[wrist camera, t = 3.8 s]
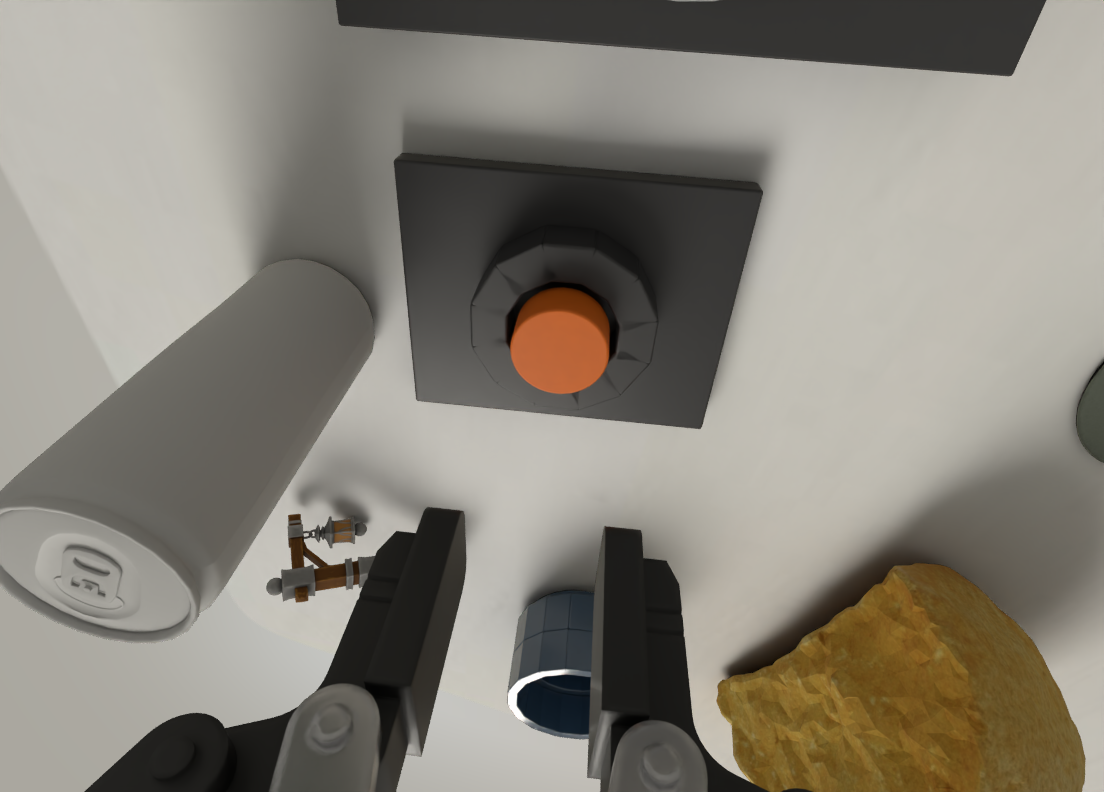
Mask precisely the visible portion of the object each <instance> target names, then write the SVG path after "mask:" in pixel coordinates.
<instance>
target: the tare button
mask: <svg viewBox="0 0 1104 792" xmlns="http://www.w3.org/2000/svg"><path fill="white" fill-rule="evenodd" d="M609 338H610V327H609V321H608V318H607V315H606V313H605V311H604V310H603V308H602V307H601V305H600V304H599V303H598V302H597V301H596V300H595V299H594V298H592V297H591V296H589V295H588V294H586V293H584V292H582V291H579V290H576V289H573V288H566V287H557V288H551V289H547V290H544V291H541V292H539V293H537V294H535V295H534V296H532V297H531V298H530V299H529V300H528V301H527V302H526V303H525V304H524V305H523V307H522V308H521V310H520V312H519V315H518V318H517V322H516V325H515V329H514V332H513V336H512V340H511V345H510V354H511V359H512V362H513V364H514V366H515V368H516V370H517V371H518V373H519V374H520V375H521V377H522V378H523V379H524V380H526V381H527V382H528V383H529V384H531V385H532V386H534V387H536V388H538V389H540V390H543V391H546V392H550V393H556V394H567V393H574V392H577V391H581V390H583V389H585V388H587V387H589V386H591V385H592V384H593V383H594V382H596V381H597V380H598V379H599V378H600V376H601V375H602V374H603V372H604V371H605V369H606V366H607V364H608V359H609Z"/></svg>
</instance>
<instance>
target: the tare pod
mask: <svg viewBox="0 0 1104 792" xmlns="http://www.w3.org/2000/svg"><path fill="white" fill-rule="evenodd" d="M394 168H395V179H396V189H397V200H398V211H399V221H400V232H401V243H402V253H403V264H404V274H405V285H406V296H407V306H408V317H409V328H410V338H411V349H412V359H413V370H414V381H415V391H416V400H417V401H424V402H434V403H444V404H454V405H464V406H475V407H485V408H495V409H505V410H515V411H525V412H535V413H545V414H555V415H565V416H575V417H585V418H595V419H605V420H615V421H625V422H635V423H645V424H655V425H665V426H675V427H685V428H695V429H701V427H702V424H703V420H704V416H705V413H706V409H707V405H708V401H709V397H710V394H711V390H712V386H713V382H714V378H715V374H716V371H717V367H718V363H719V359H720V355H721V352H722V348H723V344H724V340H725V336H726V332H727V329H728V325H729V321H730V317H731V313H732V310H733V306H734V302H735V298H736V294H737V290H738V287H739V283H740V279H741V275H742V271H743V268H744V264H745V260H746V256H747V252H748V248H749V245H750V241H751V237H752V233H753V229H754V226H755V222H756V218H757V214H758V210H759V206H760V203H761V199H762V195H763V191H762V189H761V188H760V186H759V184H758V183H755V182H743V181H731V180H719V179H708V178H696V177H684V176H672V175H660V174H648V173H636V172H624V171H612V170H600V169H588V168H576V167H564V166H552V165H540V164H528V163H517V162H505V161H493V160H481V159H469V158H457V157H445V156H433V155H421V154H409V153H402V154H401V155H400V156H398V157H397V158H396V159H395V160H394ZM557 287H566V288H573V289H576V290H579V291H582V292H584V293H586V294H588V295H589V296H591V297H592V298H594V299H595V300H596V301H597V302H598V303H599V304H600V305H601V307H602V308H603V310H604V311H605V313H606V315H607V318H608V321H609V327H610V338H609V359H608V364H607V366H606V369H605V371H604V372H603V374H602V375H601V376H600V378H599V379H598V380H597V381H596V382H594V383H593V384H592V385H591V386H589V387H587V388H585V389H583V390H581V391H577V392H574V393H567V394H556V393H550V392H546V391H543V390H540V389H538V388H536V387H534V386H532V385H531V384H529V383H528V382H527V381H526V380H524V379H523V378H522V377H521V375H520V374H519V373H518V371H517V370H516V368H515V366H514V364H513V362H512V359H511V354H510V345H511V340H512V336H513V332H514V329H515V325H516V322H517V318H518V315H519V312H520V310H521V308H522V307H523V305H524V304H525V303H526V302H527V301H528V300H529V299H530V298H531V297H532V296H534V295H535V294H537V293H539V292H541V291H544V290H547V289H551V288H557Z"/></svg>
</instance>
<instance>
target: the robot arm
mask: <svg viewBox="0 0 1104 792" xmlns="http://www.w3.org/2000/svg"><path fill="white" fill-rule="evenodd" d="M465 572H466V537H465V515H464V511H460V510H451V509H441V508H432V507H427V508H426V509H425V511H424V513H423V515H422V518H421V521H420V524H419V526H418V529H417V532H416V533H409V532H400V531H396V532H395V533H394V534H393V535H392V536H391V537H390V538H389V539H388V540H387V541H386V543H385V544H384V545H383V546H382V547H381V548H380V549H379V550H378V551H377V553H376V556H375V558H374V561H373V563H372V566H371V568H370V570H369V573H368V578H367V580H365V583H364V585H363V588H362V590H361V592H360V597H359V600H357V602H356V605H355V607H354V610H353V612H352V614H351V617H350V619H349V622H348V624H347V627H346V629H345V632H344V634H343V636H342V639H341V641H340V644H339V646H338V649H337V651H336V654H335V656H334V659H333V661H332V663H331V666H330V668H329V671H328V673H327V675H326V677H325V679H324V681H323V682H322V684H321V685H320V687H319V688H318V689H317V691H315V693H313V694H312V695H310V696H309V697H308V698H306V699H305V700H304V701H303V702H302V703H301V704H300V705H299V706H298V707H297V708H295V709H293V710H291V711H290V712H287V713H285V714H283V715H280V716H277V717H274V718H270V719H265V720H261V721H257V722H252V723H247V724H243V725H238V726H233V727H229V728H224V726H223V724H222V723H221V722H220V721H219V720H218V719H216V718H214V717H213V716H210V715H207V714H202V713H190V714H185V715H181V716H178V717H175V718H172V719H170V720H168V721H166V722H164V723H162V724H161V725H159V726H158V727H156V728H155V729H153V730H152V731H151V732H150V733H148V734H147V735H146V736H145V737H144V738H143V739H141V740H140V741H139V742H138V743H137V744H136V745H135V746H134V747H133V748H132V749H131V750H129V751H128V752H127V753H126V754H125V755H124V756H123V757H122V758H121V759H120V760H118V761H117V762H116V763H115V764H114V765H113V766H112V767H111V768H110V769H109V770H108V771H106V772H105V773H104V774H103V775H102V776H101V777H100V778H99V779H98V780H97V781H95V782H94V783H93V785H91V786H90V787H89V788H88V789H87V790H86V791H85V792H396V789H397V785H398V781H399V778H400V774H401V770H402V767H403V763H404V759H405V755H411V756H419V757H421V756H422V752H423V748H424V744H425V740H426V736H427V732H428V728H429V724H430V720H431V715H432V712H433V708H434V703H435V700H436V695H437V691H438V687H439V683H440V679H441V675H442V671H443V667H444V663H445V659H446V655H447V651H448V647H449V643H450V639H451V635H452V631H453V627H454V623H455V619H456V615H457V611H458V607H459V602H460V598H461V594H462V590H463V585H464V580H465ZM681 612H682V608H681V598H680V587H679V583H678V581H677V579H676V578H675V576H674V574H673V572H672V570H671V569H670V567H669V565H668V563H667V561H664V560H655V559H645V558H643V546H642V532H641V530H635V529H626V528H616V527H607V526H604V530H603V536H602V542H601V548H600V554H599V561H598V567H597V573H596V582H595V592H594V610H593V637H592V664H591V691H590V718H589V745H588V772H587V778H594V779H601V791H600V792H769V791H767V790H765V789H763V788H761V787H759V786H757V785H755V784H753V783H751V782H749V781H747V780H745V779H743V778H741V777H739V776H737V775H735V774H733V773H731V772H729V771H728V770H726V769H725V768H724V767H722V766H721V765H720V764H719V763H718V762H717V761H715V760H714V759H713V758H712V756H711V755H710V754H709V753H708V752H707V750H706V749H705V747H704V746H703V744H702V743H701V741H700V739H699V737H698V735H697V733H696V730H695V726H694V723H693V717H692V708H691V698H690V688H689V678H688V668H687V658H686V648H685V638H684V628H683V618H682V615H681ZM781 792H813V791H809V790H806V789H800V788H793V789H787V790H783V791H781Z"/></svg>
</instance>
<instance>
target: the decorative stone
mask: <svg viewBox="0 0 1104 792" xmlns="http://www.w3.org/2000/svg"><path fill="white" fill-rule="evenodd" d="M717 704H718V706H719V709H720V711H721V714H722V715H723V716H724V717H725V718H726V720H727V721H728V722H729V723H730V724H731V725H732V737H733V756H734V758H735V760H736V762H737V764H738V766H739V768H740V770H741V771H742V772H743V773H744V775H745V776H746V777H747V778H748V779H749V780H750V782H751V783H753V784H755V785H757V786H759V787H761V788H763V789H765V790H767V791H769V792H781V791H783V790H787V789H793V788H800V789H806V790H809V791H813V792H1082V787H1083V785H1084V781H1085V755H1084V751H1083V746H1082V741H1081V738H1080V735H1079V733H1078V730H1077V727H1076V726H1075V724H1074V722H1073V721H1072V719H1071V717H1070V714H1069V712H1068V709H1067V706H1066V703H1065V701H1064V698H1063V696H1062V693H1061V691H1060V689H1059V687H1058V686H1057V684H1056V682H1055V681H1054V679H1053V677H1052V675H1051V673H1050V671H1049V669H1048V667H1047V665H1046V663H1045V661H1044V659H1043V657H1042V655H1041V654H1040V652H1039V650H1038V649H1037V647H1036V646H1035V644H1034V642H1033V641H1032V639H1031V638H1030V637H1029V636H1028V635H1027V634H1026V633H1025V632H1024V631H1023V630H1022V629H1021V627H1020V626H1019V625H1018V624H1017V623H1016V622H1015V621H1014V620H1012V619H1011V618H1010V617H1009V616H1008V615H1006V614H1005V613H1004V612H1003V611H1001V610H1000V609H999V608H998V607H997V606H996V605H995V604H994V603H993V602H992V601H991V600H990V599H989V597H988V596H987V595H985V594H984V593H983V592H982V591H981V590H980V589H979V588H978V587H977V586H975V585H974V584H973V583H971V582H970V581H968V580H967V579H966V578H964V577H963V576H961V575H960V574H958V573H957V572H955V571H954V570H952V569H951V568H949V567H946V566H943V565H937V564H925V563H914V564H912V565H901V566H894V567H893V568H892V569H891V570H890V571H889V572H888V574H887V576H886V578H885V579H884V581H883V582H882V583H880V584H876V585H874V586H873V587H872V588H871V589H870V590H869V591H868V592H867V593H866V594H865V595H864V596H863V597H862V599H861V600H860V601H859V602H858V603H857V604H856V605H855V606H854V607H847V608H846V609H845V610H843V611H842V612H840V613H838V614H837V615H835V616H834V617H833V619H832V620H831V621H830V622H829V623H828V624H826V625H825V626H823V627H821V628H819V629H816V630H815V631H813V632H811V633H809V634H808V635H806V636H805V637H803V638H802V640H801V641H800V643H799V644H798V646H797V647H796V649H795V650H793V651H792V652H791V653H789V654H787V655H785V656H783V657H781V658H779V659H778V660H776V661H775V662H774V664H773V665H772V666H767V667H764V668H762V669H760V670H758V671H756V672H754V673H747V674H744V675H733V676H732V677H730V678H729V679H726V680H722V681H721V682H720V683H719V684H718V697H717Z"/></svg>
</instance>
